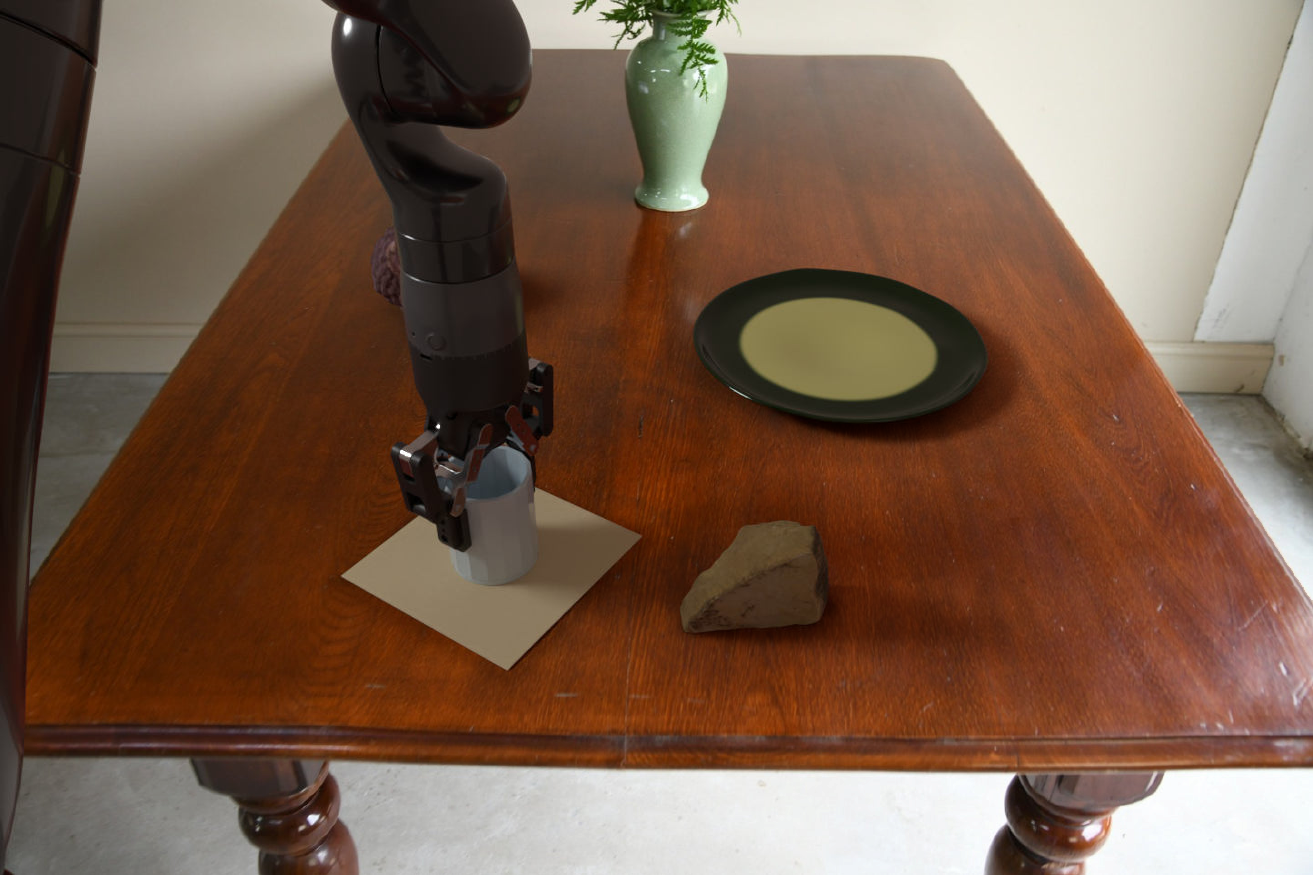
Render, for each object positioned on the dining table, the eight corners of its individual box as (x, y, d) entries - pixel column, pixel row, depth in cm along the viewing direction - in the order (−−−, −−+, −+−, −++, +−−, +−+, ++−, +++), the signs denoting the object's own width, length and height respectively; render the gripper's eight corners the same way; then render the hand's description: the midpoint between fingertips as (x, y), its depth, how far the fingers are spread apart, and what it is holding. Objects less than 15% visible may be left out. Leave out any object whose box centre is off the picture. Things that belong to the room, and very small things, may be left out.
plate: (660, 305, 108) (660, 284, 107) (903, 274, 114) (907, 254, 112) (744, 464, 87) (746, 441, 85) (1039, 417, 92) (1046, 394, 91)
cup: (500, 598, 74) (489, 514, 69) (433, 563, 77) (419, 480, 72) (555, 547, 78) (549, 464, 73) (491, 515, 81) (481, 434, 76)
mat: (507, 670, 69) (507, 669, 69) (341, 576, 76) (340, 575, 76) (642, 536, 79) (642, 535, 79) (485, 465, 86) (485, 464, 86)
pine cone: (354, 274, 113) (387, 189, 111) (439, 306, 117) (472, 225, 115) (360, 310, 97) (398, 212, 96) (458, 346, 101) (496, 253, 99)
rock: (655, 638, 68) (805, 660, 65) (666, 509, 68) (816, 524, 65) (701, 617, 78) (832, 635, 75) (710, 505, 78) (841, 518, 75)
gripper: (495, 262, 72) (514, 451, 82) (338, 353, 62) (382, 555, 72) (581, 291, 68) (590, 484, 78) (429, 392, 59) (462, 598, 69)
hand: (490, 517), depth 75 cm, fingers closed on cup, 6 cm apart
